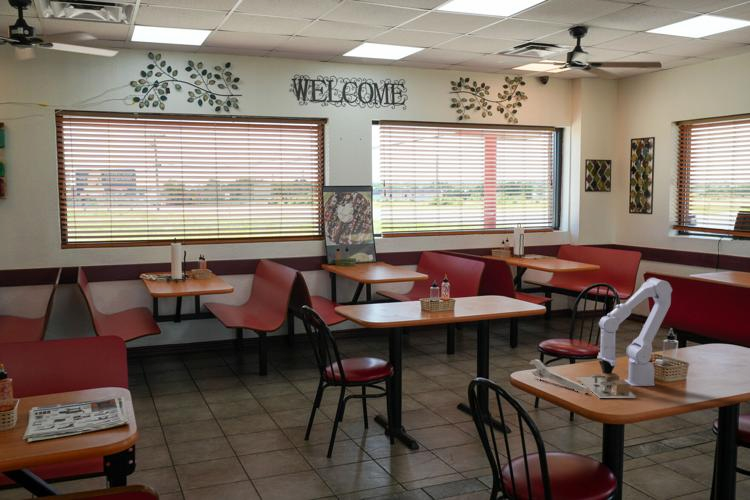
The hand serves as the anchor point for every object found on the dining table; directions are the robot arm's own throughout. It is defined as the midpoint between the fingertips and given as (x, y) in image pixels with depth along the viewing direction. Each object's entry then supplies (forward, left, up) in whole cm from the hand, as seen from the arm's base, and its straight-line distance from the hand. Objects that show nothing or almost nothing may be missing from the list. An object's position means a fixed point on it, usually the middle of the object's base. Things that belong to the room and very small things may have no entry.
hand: (606, 378), depth 275 cm
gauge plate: (+3, +6, -2) cm, 7 cm away
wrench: (+20, 0, -3) cm, 20 cm away
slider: (+3, +4, -1) cm, 5 cm away
